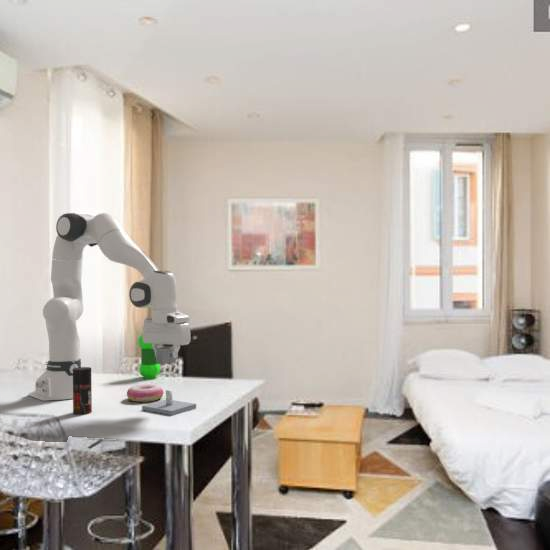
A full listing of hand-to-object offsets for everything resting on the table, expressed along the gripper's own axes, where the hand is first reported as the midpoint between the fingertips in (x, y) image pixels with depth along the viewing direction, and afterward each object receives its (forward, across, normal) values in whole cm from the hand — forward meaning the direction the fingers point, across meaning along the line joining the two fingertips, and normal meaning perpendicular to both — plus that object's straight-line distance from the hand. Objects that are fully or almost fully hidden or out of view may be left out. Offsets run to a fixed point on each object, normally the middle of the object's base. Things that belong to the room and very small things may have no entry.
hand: (166, 357), depth 190 cm
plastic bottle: (+18, -52, +40) cm, 68 cm away
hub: (+2, 0, 0) cm, 2 cm away
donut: (+18, -19, +7) cm, 28 cm away
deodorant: (+18, -22, -19) cm, 34 cm away
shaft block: (+18, 0, 0) cm, 18 cm away
